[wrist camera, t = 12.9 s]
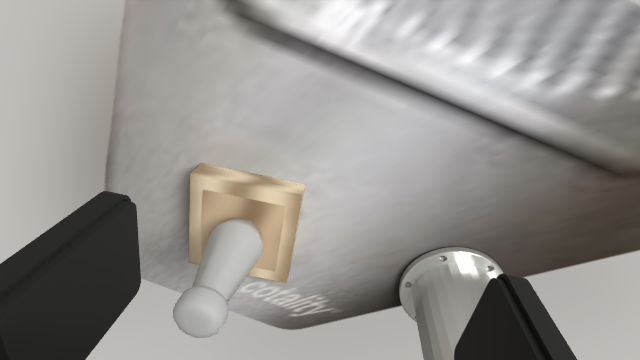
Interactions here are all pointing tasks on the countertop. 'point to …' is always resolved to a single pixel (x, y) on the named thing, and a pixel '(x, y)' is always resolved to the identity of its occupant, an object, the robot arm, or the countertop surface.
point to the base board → (246, 214)
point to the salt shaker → (218, 277)
